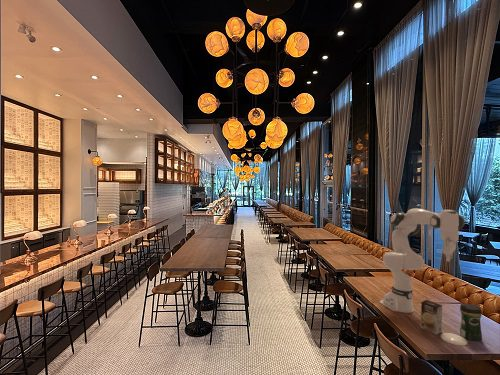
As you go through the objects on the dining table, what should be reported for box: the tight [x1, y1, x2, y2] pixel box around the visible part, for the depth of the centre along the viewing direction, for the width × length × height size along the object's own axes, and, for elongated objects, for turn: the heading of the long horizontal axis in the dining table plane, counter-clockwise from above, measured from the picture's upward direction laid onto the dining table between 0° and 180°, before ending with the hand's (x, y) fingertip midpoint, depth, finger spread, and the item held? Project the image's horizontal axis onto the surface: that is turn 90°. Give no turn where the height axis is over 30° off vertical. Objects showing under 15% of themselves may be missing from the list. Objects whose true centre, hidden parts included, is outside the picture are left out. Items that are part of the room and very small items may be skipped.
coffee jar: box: [459, 303, 483, 341], centre depth 163 cm, size 10×8×19 cm
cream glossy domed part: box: [440, 332, 468, 347], centre depth 159 cm, size 12×12×1 cm
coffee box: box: [420, 299, 443, 335], centre depth 171 cm, size 9×6×16 cm
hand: (449, 259), depth 173 cm, fingers open, 8 cm apart
